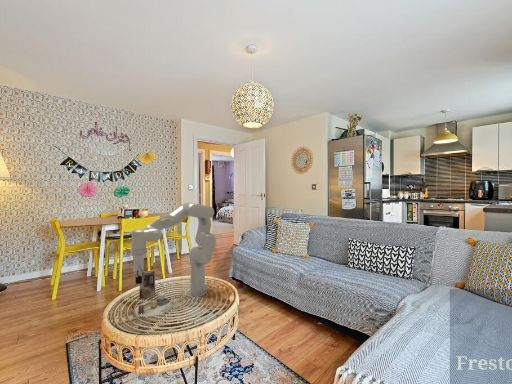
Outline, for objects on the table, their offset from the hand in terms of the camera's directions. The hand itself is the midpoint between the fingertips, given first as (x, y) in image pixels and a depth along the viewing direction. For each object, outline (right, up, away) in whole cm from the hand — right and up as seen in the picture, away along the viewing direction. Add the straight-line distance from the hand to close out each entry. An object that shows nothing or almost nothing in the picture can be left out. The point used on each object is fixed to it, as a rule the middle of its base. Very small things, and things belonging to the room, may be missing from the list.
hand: (138, 283), depth 140 cm
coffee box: (-4, -17, +20) cm, 26 cm away
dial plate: (+7, -17, +4) cm, 19 cm away
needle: (+5, -15, +1) cm, 16 cm away
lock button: (+9, -14, +10) cm, 20 cm away
